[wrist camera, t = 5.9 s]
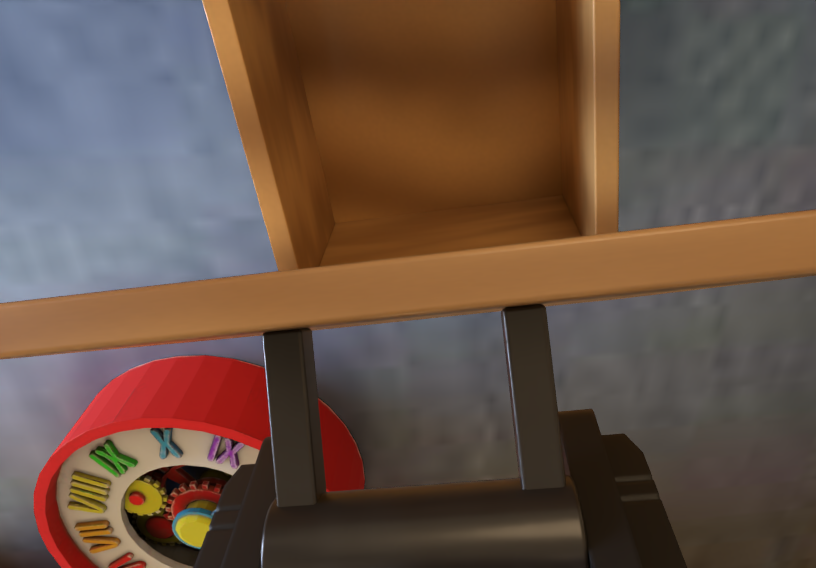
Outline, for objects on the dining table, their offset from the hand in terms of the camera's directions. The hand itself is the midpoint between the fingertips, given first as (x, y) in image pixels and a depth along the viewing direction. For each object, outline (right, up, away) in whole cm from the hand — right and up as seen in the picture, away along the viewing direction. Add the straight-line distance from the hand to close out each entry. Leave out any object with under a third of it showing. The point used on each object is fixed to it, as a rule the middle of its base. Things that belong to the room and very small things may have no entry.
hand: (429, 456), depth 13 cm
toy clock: (-13, -10, +32) cm, 36 cm away
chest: (0, +14, +17) cm, 23 cm away
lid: (0, +3, +4) cm, 6 cm away
